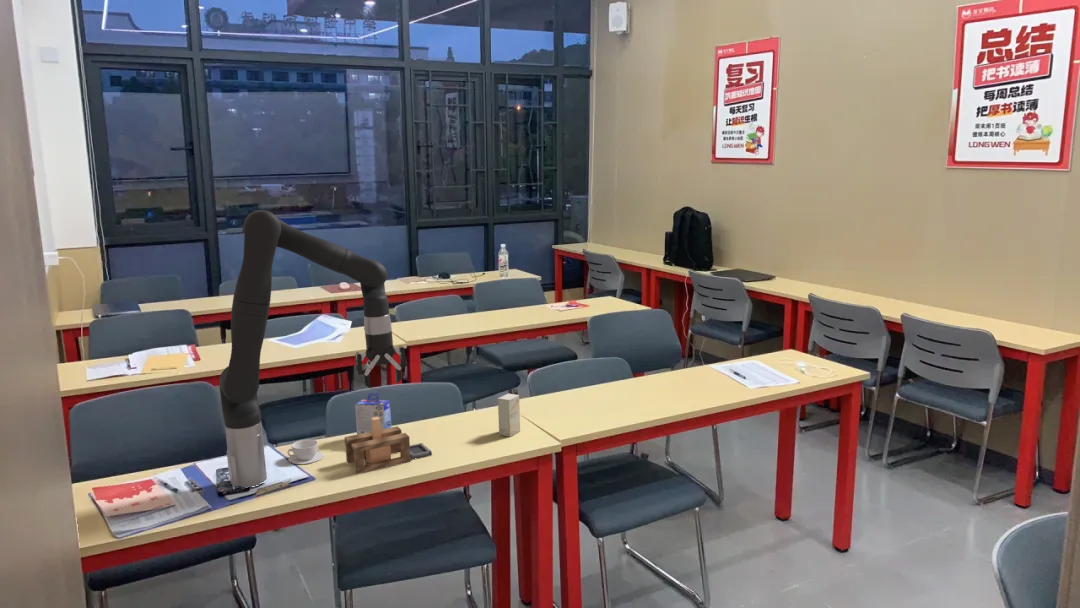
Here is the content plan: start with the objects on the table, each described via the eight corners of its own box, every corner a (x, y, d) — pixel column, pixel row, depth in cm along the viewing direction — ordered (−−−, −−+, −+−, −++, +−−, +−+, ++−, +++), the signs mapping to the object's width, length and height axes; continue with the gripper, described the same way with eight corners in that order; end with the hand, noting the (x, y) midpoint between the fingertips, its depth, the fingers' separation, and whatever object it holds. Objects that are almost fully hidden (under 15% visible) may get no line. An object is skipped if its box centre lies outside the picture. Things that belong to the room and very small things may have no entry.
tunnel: (356, 473, 216) (354, 447, 214) (346, 461, 224) (344, 437, 223) (410, 461, 223) (409, 436, 222) (398, 450, 232) (397, 426, 230)
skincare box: (510, 437, 240) (508, 400, 238) (498, 435, 243) (497, 398, 240) (520, 431, 246) (519, 394, 243) (509, 428, 248) (508, 392, 246)
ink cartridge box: (393, 436, 244) (390, 392, 241) (386, 443, 238) (383, 398, 235) (364, 434, 246) (361, 391, 243) (356, 441, 240) (353, 397, 237)
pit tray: (412, 459, 225) (412, 455, 224) (403, 450, 232) (402, 447, 231) (431, 455, 228) (431, 451, 227) (421, 446, 234) (421, 442, 234)
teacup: (318, 449, 234) (317, 435, 233) (326, 460, 226) (325, 445, 225) (285, 456, 230) (283, 442, 229) (292, 468, 221) (290, 452, 220)
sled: (371, 465, 220) (368, 422, 218) (365, 460, 224) (362, 417, 222) (391, 461, 223) (388, 418, 220) (385, 455, 227) (382, 413, 225)
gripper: (355, 336, 212) (361, 392, 215) (406, 329, 218) (410, 383, 221) (350, 331, 219) (356, 385, 222) (399, 324, 224) (404, 377, 228)
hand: (383, 384), depth 222 cm, fingers open, 8 cm apart
